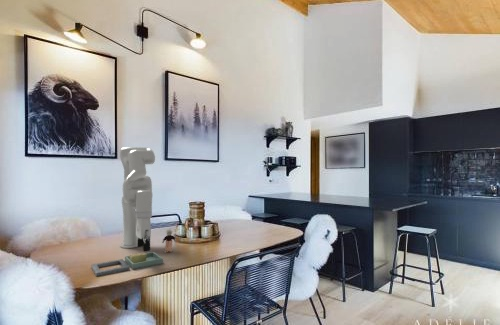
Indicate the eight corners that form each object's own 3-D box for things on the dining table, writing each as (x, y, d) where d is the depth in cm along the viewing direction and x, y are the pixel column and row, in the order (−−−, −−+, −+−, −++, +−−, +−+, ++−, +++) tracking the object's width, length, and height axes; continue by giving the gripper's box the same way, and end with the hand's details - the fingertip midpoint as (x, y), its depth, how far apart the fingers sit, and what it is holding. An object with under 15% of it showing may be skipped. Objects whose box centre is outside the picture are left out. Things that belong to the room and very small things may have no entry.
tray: (124, 261, 151) (124, 256, 151) (153, 256, 159) (153, 251, 159) (132, 269, 139) (132, 264, 139) (163, 263, 148) (163, 258, 148)
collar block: (91, 267, 142) (91, 264, 142) (122, 262, 150) (122, 259, 150) (96, 276, 130) (96, 273, 130) (129, 269, 138) (129, 266, 138)
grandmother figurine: (163, 253, 165) (164, 230, 165) (161, 251, 168) (161, 229, 168) (177, 251, 169) (177, 228, 169) (174, 249, 172) (174, 227, 172)
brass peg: (143, 260, 151) (129, 262, 147) (143, 252, 151) (129, 254, 147) (146, 262, 148) (131, 265, 144) (146, 254, 148) (131, 256, 144)
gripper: (131, 213, 154) (131, 246, 154) (141, 218, 140) (141, 254, 140) (146, 211, 159) (146, 243, 159) (157, 216, 145) (156, 251, 145)
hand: (143, 248), depth 149 cm, fingers open, 9 cm apart
